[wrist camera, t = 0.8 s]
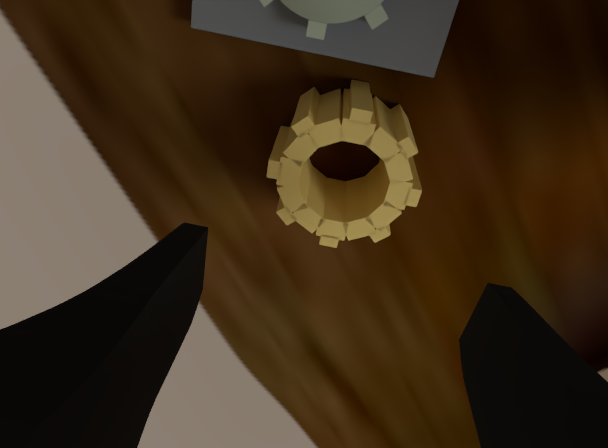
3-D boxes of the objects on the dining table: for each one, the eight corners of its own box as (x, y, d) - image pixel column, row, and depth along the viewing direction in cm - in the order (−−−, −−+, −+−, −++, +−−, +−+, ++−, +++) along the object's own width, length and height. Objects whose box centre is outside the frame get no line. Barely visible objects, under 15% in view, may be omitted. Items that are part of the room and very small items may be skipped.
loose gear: (429, 95, 19) (445, 126, 16) (390, 214, 22) (397, 259, 19) (290, 66, 19) (279, 92, 16) (270, 190, 22) (257, 232, 19)
